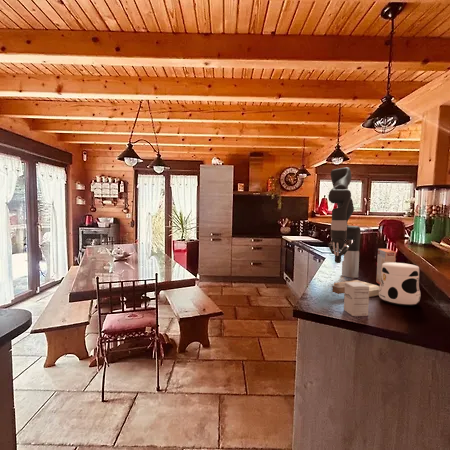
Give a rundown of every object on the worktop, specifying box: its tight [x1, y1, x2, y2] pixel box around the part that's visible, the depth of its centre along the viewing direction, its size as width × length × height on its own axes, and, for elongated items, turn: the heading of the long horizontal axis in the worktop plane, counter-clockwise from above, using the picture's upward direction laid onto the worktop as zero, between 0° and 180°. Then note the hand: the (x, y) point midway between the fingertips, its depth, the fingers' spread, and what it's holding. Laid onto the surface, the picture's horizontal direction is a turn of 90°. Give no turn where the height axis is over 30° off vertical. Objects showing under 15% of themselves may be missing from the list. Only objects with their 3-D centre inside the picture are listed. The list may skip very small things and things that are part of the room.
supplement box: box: [343, 281, 370, 317], centre depth 128 cm, size 7×7×13 cm
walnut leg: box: [331, 284, 345, 295], centre depth 150 cm, size 16×4×3 cm, turn 113°
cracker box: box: [375, 248, 397, 286], centre depth 175 cm, size 14×6×21 cm, turn 168°
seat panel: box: [333, 279, 380, 298], centre depth 163 cm, size 19×18×3 cm
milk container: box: [378, 262, 422, 307], centre depth 143 cm, size 17×17×18 cm
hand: (337, 262), depth 153 cm, fingers closed
